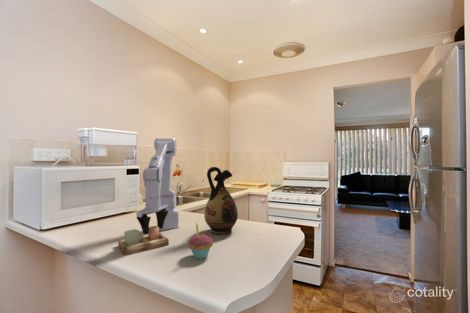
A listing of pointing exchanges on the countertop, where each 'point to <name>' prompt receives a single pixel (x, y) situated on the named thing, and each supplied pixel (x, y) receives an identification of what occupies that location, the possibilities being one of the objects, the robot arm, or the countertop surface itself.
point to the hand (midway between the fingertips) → (153, 230)
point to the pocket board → (143, 244)
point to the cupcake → (200, 245)
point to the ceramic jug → (220, 204)
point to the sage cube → (131, 237)
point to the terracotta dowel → (153, 233)
